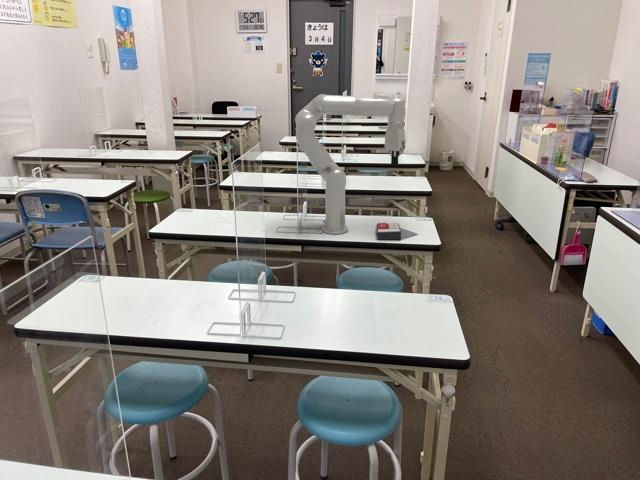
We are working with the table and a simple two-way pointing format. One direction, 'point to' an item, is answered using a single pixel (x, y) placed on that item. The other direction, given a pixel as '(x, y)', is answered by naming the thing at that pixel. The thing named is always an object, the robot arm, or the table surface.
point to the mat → (406, 233)
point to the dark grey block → (388, 231)
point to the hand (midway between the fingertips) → (394, 164)
